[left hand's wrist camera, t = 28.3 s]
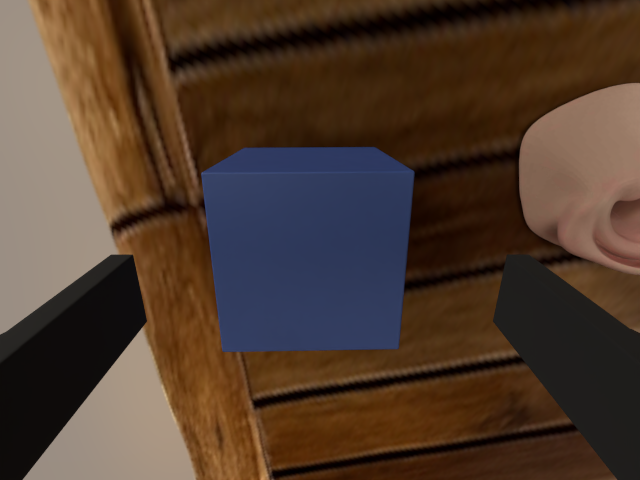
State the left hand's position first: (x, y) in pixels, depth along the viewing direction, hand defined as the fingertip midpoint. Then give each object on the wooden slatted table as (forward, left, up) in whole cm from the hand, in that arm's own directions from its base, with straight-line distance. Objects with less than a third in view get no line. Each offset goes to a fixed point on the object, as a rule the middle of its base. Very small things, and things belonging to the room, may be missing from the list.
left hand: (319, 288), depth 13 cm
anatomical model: (-19, +2, -11) cm, 22 cm away
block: (0, 0, -11) cm, 11 cm away
